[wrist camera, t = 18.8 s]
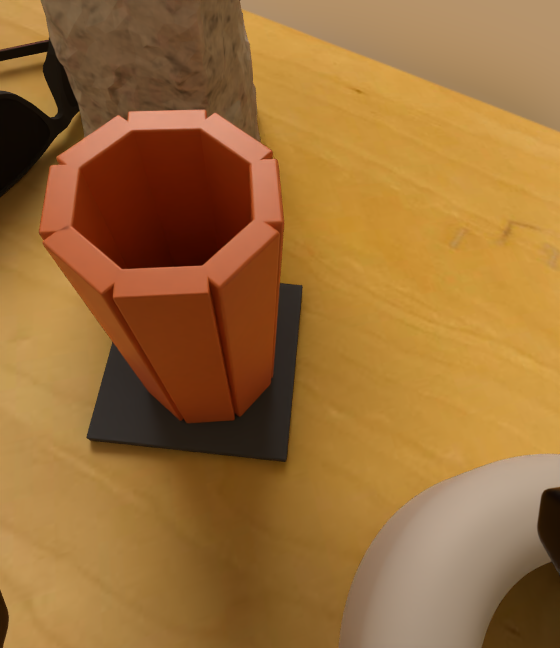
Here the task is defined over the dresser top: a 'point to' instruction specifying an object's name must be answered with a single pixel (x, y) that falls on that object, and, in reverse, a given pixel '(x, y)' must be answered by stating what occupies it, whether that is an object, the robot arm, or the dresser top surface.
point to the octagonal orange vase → (175, 253)
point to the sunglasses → (32, 116)
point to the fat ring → (450, 558)
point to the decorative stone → (155, 58)
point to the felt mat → (206, 437)
